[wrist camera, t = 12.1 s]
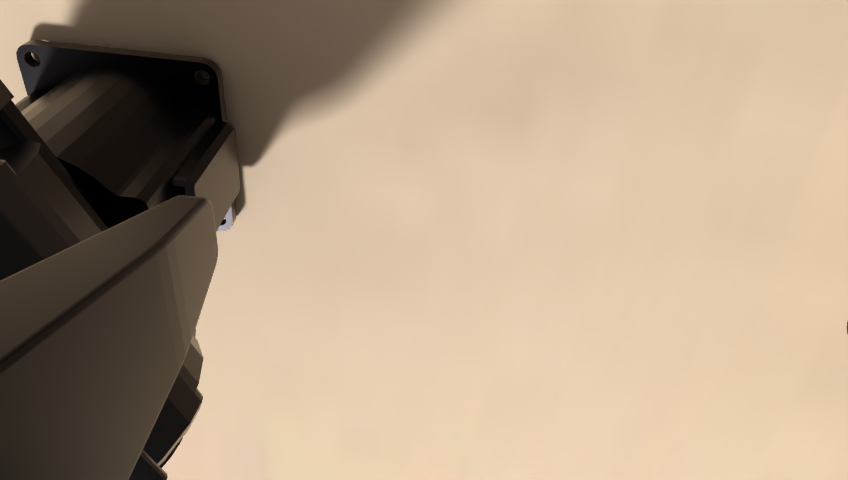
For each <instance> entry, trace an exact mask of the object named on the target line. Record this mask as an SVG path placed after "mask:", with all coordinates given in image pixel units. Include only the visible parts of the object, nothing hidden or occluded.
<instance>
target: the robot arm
mask: <svg viewBox="0 0 848 480" xmlns="http://www.w3.org/2000/svg"><path fill="white" fill-rule="evenodd" d="M31 52H32V53H35V54H36V55H37V56H38V57H39V59H40V63H39V62H37V61H36V60H34V59H33V57H32V55H31ZM16 53H17V60H18V63H19V67H20V70H21V74H22V77H23V81H24V84H25V88H26V91H27V95H28V96H27V97H25V98H24V99H23V100H21V101H20V102H18V103H17V104H14V103H13V102H12V101H11V99H12V98H13V97H14V96H13V95H12V94H11V92H10V91H9V90H8V89H7V87H6V86H5V85H4V83H3V82H2V81H1V80H0V480H167V474H166V473H165V472H164V471H163V470H162V469H161V468H162V467H163V466H164V465H165V464H166V462H167V461H168V460H169V459H170V458H171V456H172V455H173V453H174V452H175V450H176V449H177V447H178V446H179V444H180V442H181V440H182V438H183V436H184V435H185V433H186V432H187V431H188V429H189V428H190V426H191V424H192V422H193V420H194V418H195V416H196V415H197V413H198V411H199V409H200V406H201V403H202V399H203V396H202V394H201V393H200V392H199V390H198V389H197V386H198V384H199V379H200V374H201V368H202V363H203V356H202V353H201V350H200V347H199V344H198V341H197V340H196V338H195V332H196V329H195V328H196V325H197V322H198V319H199V316H200V313H201V309H202V306H203V303H204V300H205V297H206V294H207V291H208V288H209V285H210V282H211V279H212V276H213V273H214V269H215V266H216V263H217V257H218V245H217V237H216V231H226V230H228V229H230V228H231V226H232V225H233V223H234V221H235V219H236V210H235V198H236V196H237V195H238V193H239V191H240V179H239V168H238V157H237V147H236V136H235V129H234V128H233V126H232V125H231V124H230V123H229V122H227V121H226V111H225V101H224V91H223V81H222V74H221V70H220V68H219V67H218V65H217V64H216V63H215V62H213V61H212V60H210V59H206V58H200V57H190V56H180V55H171V54H161V53H152V52H142V51H133V50H123V49H114V48H104V47H95V46H85V45H76V44H66V43H56V42H47V41H37V40H33V41H28V42H27V43H25V44H23V45H22V46H20V47H19V48H18V50H17V52H16ZM199 70H203V71H206V72H207V73H208V74H209V76H210V80H208V81H207V80H204V79H203V78H202V77H201V76H200V74H199ZM224 217H225V218H226V219H224ZM223 219H224V220H223ZM847 333H848V322H847Z"/></svg>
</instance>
